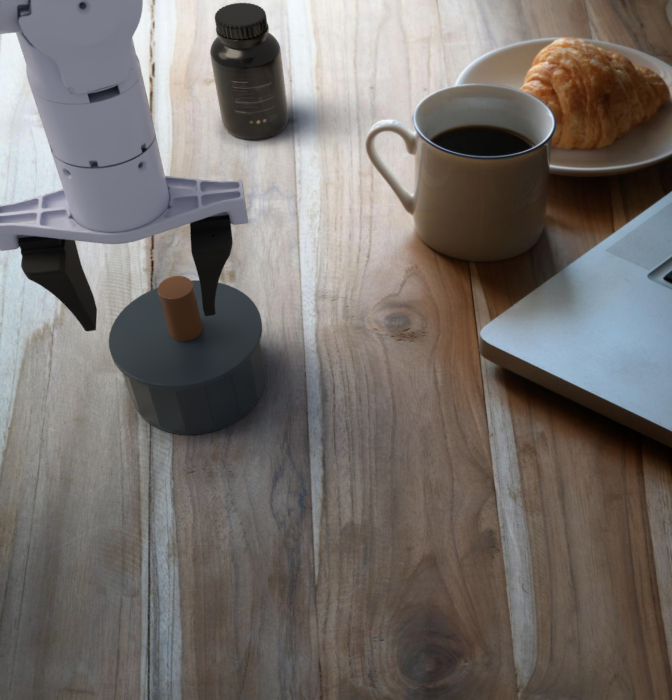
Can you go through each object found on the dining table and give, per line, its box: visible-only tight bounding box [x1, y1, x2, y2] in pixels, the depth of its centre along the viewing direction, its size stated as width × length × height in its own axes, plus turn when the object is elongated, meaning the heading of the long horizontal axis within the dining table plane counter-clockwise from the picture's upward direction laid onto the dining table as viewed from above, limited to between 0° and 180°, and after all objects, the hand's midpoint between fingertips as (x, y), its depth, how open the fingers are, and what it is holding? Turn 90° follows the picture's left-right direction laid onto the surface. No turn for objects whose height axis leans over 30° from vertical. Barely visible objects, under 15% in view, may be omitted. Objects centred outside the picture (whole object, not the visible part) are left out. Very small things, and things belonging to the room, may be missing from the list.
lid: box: [108, 275, 263, 390], centre depth 66 cm, size 11×11×5 cm
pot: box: [122, 342, 266, 436], centre depth 70 cm, size 10×10×5 cm
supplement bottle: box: [209, 2, 289, 140], centre depth 92 cm, size 7×7×12 cm
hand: (151, 313), depth 62 cm, fingers open, 7 cm apart
